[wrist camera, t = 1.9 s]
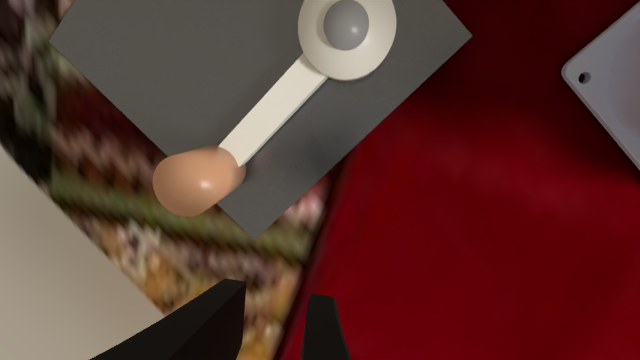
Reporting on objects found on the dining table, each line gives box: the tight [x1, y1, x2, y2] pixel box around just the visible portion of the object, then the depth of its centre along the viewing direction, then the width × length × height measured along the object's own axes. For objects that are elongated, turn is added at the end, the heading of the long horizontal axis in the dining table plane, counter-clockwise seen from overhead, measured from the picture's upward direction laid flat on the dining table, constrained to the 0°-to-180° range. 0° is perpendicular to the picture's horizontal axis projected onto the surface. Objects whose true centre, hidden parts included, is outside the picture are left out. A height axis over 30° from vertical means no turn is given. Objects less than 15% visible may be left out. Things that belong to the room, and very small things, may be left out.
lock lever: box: [153, 0, 396, 217], centre depth 13 cm, size 4×12×4 cm, turn 135°
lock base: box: [49, 0, 472, 240], centre depth 15 cm, size 16×16×1 cm
